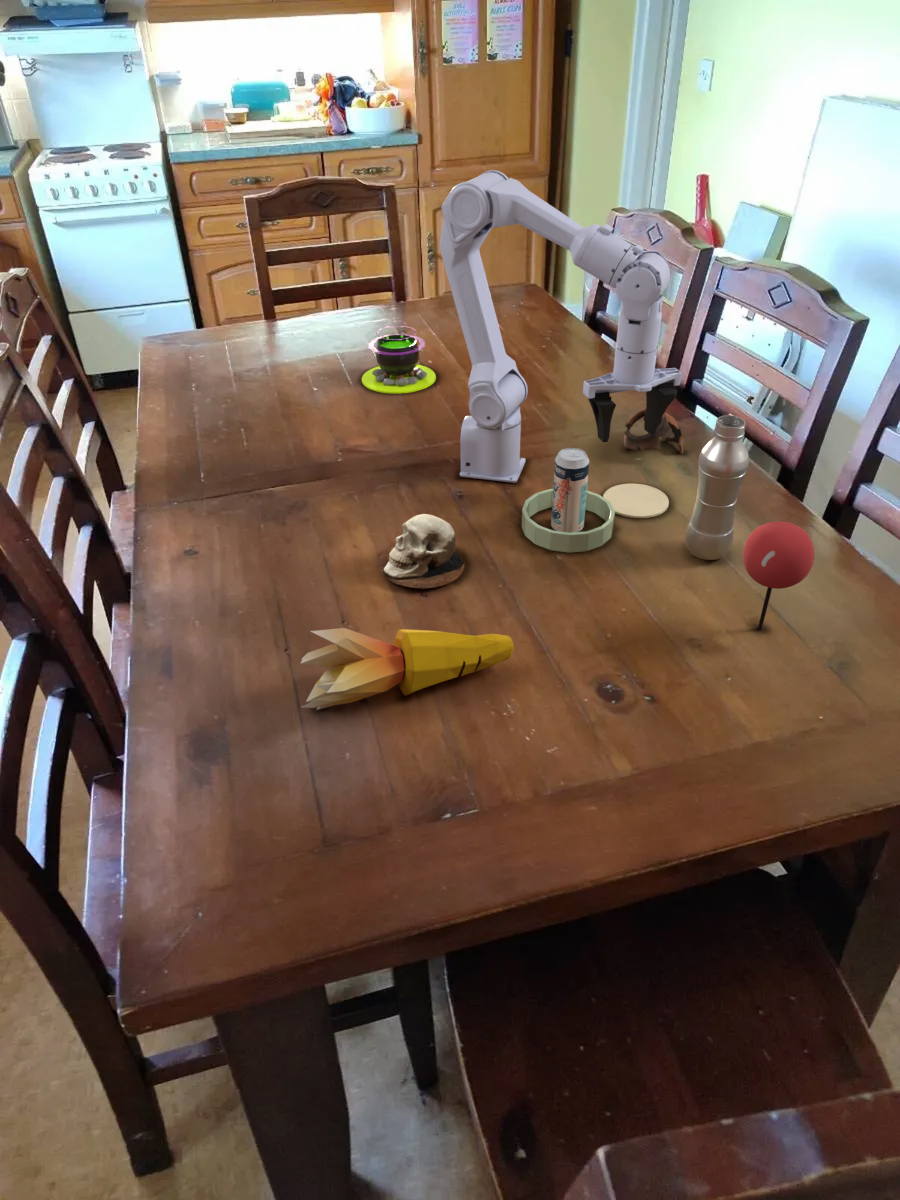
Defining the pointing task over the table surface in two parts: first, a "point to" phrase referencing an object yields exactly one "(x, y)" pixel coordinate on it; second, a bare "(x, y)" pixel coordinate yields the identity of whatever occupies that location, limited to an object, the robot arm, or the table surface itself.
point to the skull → (422, 554)
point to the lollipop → (777, 557)
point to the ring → (565, 539)
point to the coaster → (637, 500)
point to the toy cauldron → (398, 365)
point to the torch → (397, 662)
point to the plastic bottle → (718, 490)
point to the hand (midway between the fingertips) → (626, 435)
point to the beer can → (569, 490)
